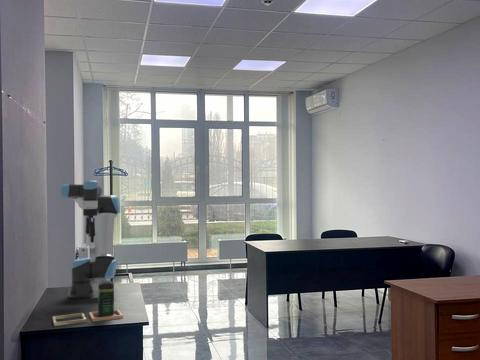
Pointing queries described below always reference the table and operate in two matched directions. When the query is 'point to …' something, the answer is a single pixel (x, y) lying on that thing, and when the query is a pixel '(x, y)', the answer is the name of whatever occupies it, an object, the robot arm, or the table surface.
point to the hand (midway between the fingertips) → (90, 247)
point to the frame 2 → (106, 316)
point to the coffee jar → (105, 298)
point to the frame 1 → (69, 317)
